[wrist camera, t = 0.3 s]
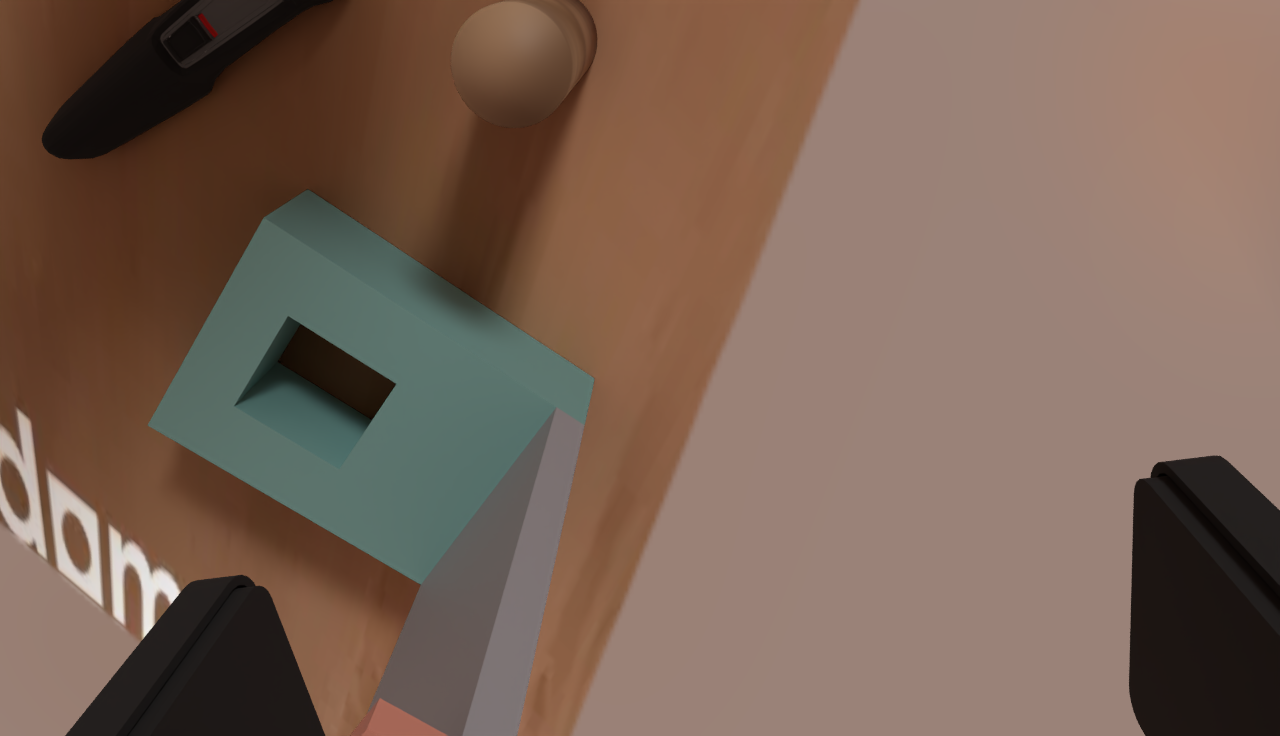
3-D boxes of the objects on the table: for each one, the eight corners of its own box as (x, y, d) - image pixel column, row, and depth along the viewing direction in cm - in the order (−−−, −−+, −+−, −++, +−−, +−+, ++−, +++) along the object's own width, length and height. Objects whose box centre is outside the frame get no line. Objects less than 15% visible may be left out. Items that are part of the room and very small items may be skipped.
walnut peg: (486, 50, 41) (428, 80, 32) (536, -32, 40) (491, -25, 31) (563, 106, 42) (528, 151, 33) (615, 27, 41) (594, 52, 32)
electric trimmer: (54, 99, 44) (8, 111, 41) (312, -105, 40) (281, -108, 37) (113, 169, 45) (72, 186, 42) (369, -22, 41) (343, -18, 38)
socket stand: (194, 387, 49) (-278, 811, 25) (312, 180, 44) (-129, 459, 20) (463, 548, 52) (272, 1060, 28) (600, 371, 47) (510, 805, 23)
